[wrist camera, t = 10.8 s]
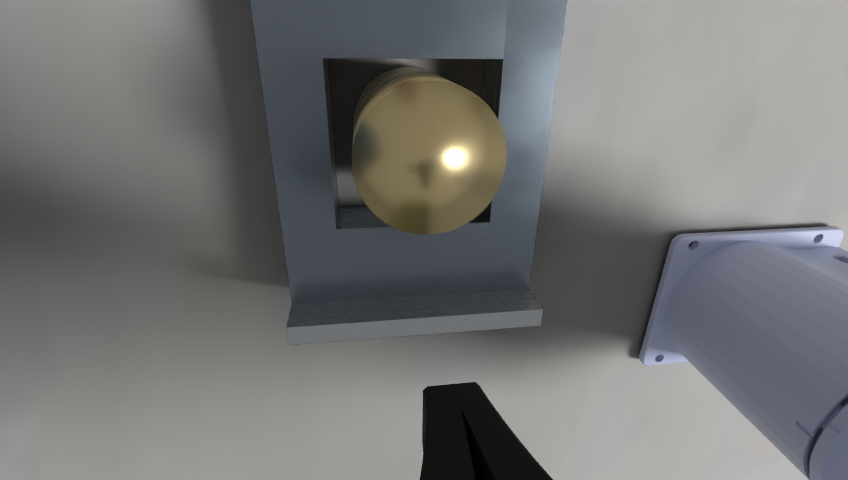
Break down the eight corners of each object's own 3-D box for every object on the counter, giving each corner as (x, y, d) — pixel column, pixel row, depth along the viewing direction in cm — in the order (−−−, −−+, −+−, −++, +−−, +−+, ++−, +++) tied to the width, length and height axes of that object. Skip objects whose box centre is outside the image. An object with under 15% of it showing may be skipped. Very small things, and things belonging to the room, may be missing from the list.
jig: (547, -66, 16) (604, -96, 12) (510, 276, 21) (540, 325, 18) (254, -79, 14) (219, -117, 11) (300, 289, 20) (288, 345, 17)
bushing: (470, 74, 17) (521, 91, 12) (453, 181, 19) (490, 238, 14) (357, 59, 16) (357, 70, 11) (350, 173, 18) (347, 230, 13)
